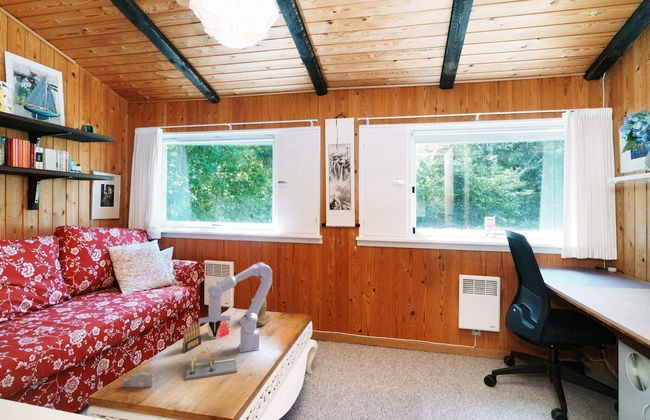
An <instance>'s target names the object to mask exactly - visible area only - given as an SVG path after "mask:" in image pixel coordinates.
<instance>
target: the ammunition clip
mask: <svg viewBox="0 0 650 420" xmlns="http://www.w3.org/2000/svg"><path fill="white" fill-rule="evenodd" d="M183 330H184V331H183V338H182V339H183V342H182V350H181V351H182V353H184V354H185V353H188V352H190V351H191V350H193V349H196V348H197V347H199V346H201V345H202V335H201V324H199V321H198V322H197V323H195V324H192V325H190V326H187V327H186V328H184V329H183Z"/></svg>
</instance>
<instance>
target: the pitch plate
mask: <svg viewBox="0 0 650 420" xmlns="http://www.w3.org/2000/svg"><path fill="white" fill-rule="evenodd" d="M235 373H238V368H237V359H236V355H234V354H233V355H228V356H218V357H214V364H212V369H211V370H210V364H208V358H204V359H199V360H197V355H195V356H194V355H193V356H190V359H189V361H188V362H187V368H186V372H185V381H189V380H195V379H200V378H201V379H202V378H210V377H215V375H216V376H223V375H227V374H235ZM209 376H210V377H209Z"/></svg>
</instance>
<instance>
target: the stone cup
mask: <svg viewBox="0 0 650 420" xmlns="http://www.w3.org/2000/svg"><path fill="white" fill-rule="evenodd" d="M253 299H254V297H253V298H251V300H250V304H251V303H252V301H253ZM267 303H268V302H267V299H266V297H265V300H264V302H263V304H262V306H261V308H260V310H259V313H258V315H257V318H258V320H257V323H256V327H261V326H263V325H265V324H266V323H267V322H269V320H270V319H271V315H266V311H267V306H268V305H267Z"/></svg>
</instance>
